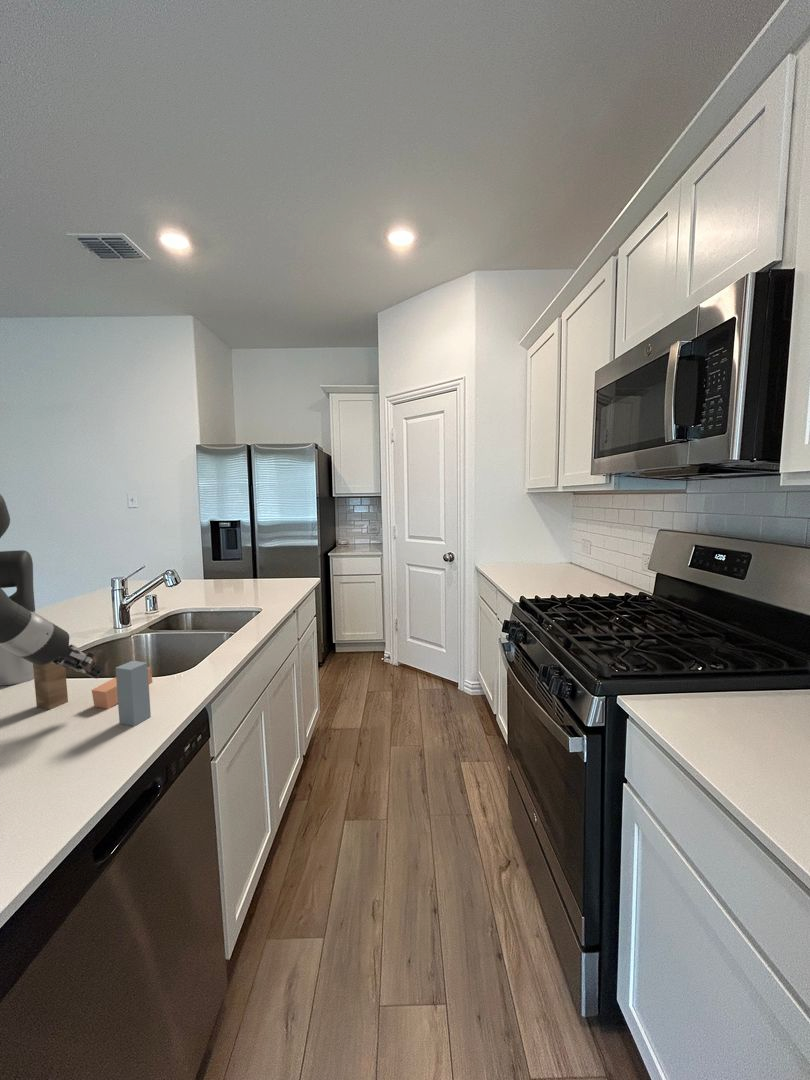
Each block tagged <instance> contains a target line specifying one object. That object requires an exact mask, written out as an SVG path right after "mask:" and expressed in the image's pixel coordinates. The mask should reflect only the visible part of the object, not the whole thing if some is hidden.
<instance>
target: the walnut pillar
mask: <svg viewBox="0 0 810 1080" xmlns="http://www.w3.org/2000/svg"><path fill="white" fill-rule="evenodd" d="M33 671H34V679H33V680H34V681H33V682H34V690H35V691H34V692H35V703H36V708H38V709H44V710H49V711H50V710H53V709H55V708H57V707H59V706H61V705H63V704H66V703H68V702H69V697H68V696H69V694H68V685H67V672H66V668H63V667H61V666H59V665H57V664H52V663H48V664H45V665H35V664H33Z"/></svg>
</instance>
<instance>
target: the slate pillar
mask: <svg viewBox="0 0 810 1080" xmlns="http://www.w3.org/2000/svg"><path fill="white" fill-rule="evenodd" d="M148 665H149V664H148V662H145V661H138V660H131V661H128V662H126V663H124V664H121V665H118V666H115V677H116V682H117V696H118V703H117V708H118V718H119V719H118V722H119V724H122V725H126V726H132V727H135V726H137V725H139V724H141V723H143V722H145V721H146V720H148V719H150V718H151V717H152V715H151V714H152V713H151V701H150V700H151V699H150V684H149V681H148V667H149V666H148Z"/></svg>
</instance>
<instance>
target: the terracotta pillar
mask: <svg viewBox="0 0 810 1080" xmlns="http://www.w3.org/2000/svg"><path fill="white" fill-rule="evenodd" d="M151 669H152V668H151V666H148V681H149V685H150V684H151V685H152V684H153V676H152V670H151ZM91 694H92V701H93V706H94V707H95V708H100V709H107V710H109V709H110V708H112V707H114V706H115V705H118V696H117V682H116V676H115V677H114V678H112V679H109V680H108V681H106V682H104V683H102V684H101V685H100V684H99V686H97V687H95V688H93V689H91Z"/></svg>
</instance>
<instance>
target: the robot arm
mask: <svg viewBox="0 0 810 1080" xmlns="http://www.w3.org/2000/svg"><path fill="white" fill-rule="evenodd" d="M10 523H11V517H10V513H9V510H8V507H7V503H6V501H5V499H4V496H3V495H2V494H1V493H0V539H1V538H2V537H3V536H4V534H5V533H6V532H7V530H8V529H9V527H10ZM33 563H34V562H33V557H32V555H31V553H30V552H29V551H27V550H22V549H21V550H19V549H18V550H3V551H2V550H1V551H0V686H11V685H16V684H22V683H25V682H28V681H32V680H34V671H33V664H35V665H45V664H48V663H52V664H57V665H59V666H61V667H63V668H65V669H67V670H74V672H78V673H79V672H80V673H82V674H83V675H86V676H88V677H90V678H92V679H99V678H100V676H101V675H102V673H103V671H104V669H103V668H101V667H100V666H98V665H96V664H97V658H96V656H95V654H94V653H92V652H88V653H84V652H83V651H81V650H79V649H80V648H79V647H78V646H76V645H74V644H70V634H69V633H68V631H67V630H64V629H63V628H61V627H60V626H58V625H56V624H55V623H53V622H51V621H50V620H48V619H47V618H45V617H43V616H42V615H39V614H37V613H36V605H35V603H36V601H35V592H34V564H33ZM6 588H16V591H15V592H14V593H13V594H11V595H10V596H8V595H7V593H6V592H5V590H4V589H6Z"/></svg>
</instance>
